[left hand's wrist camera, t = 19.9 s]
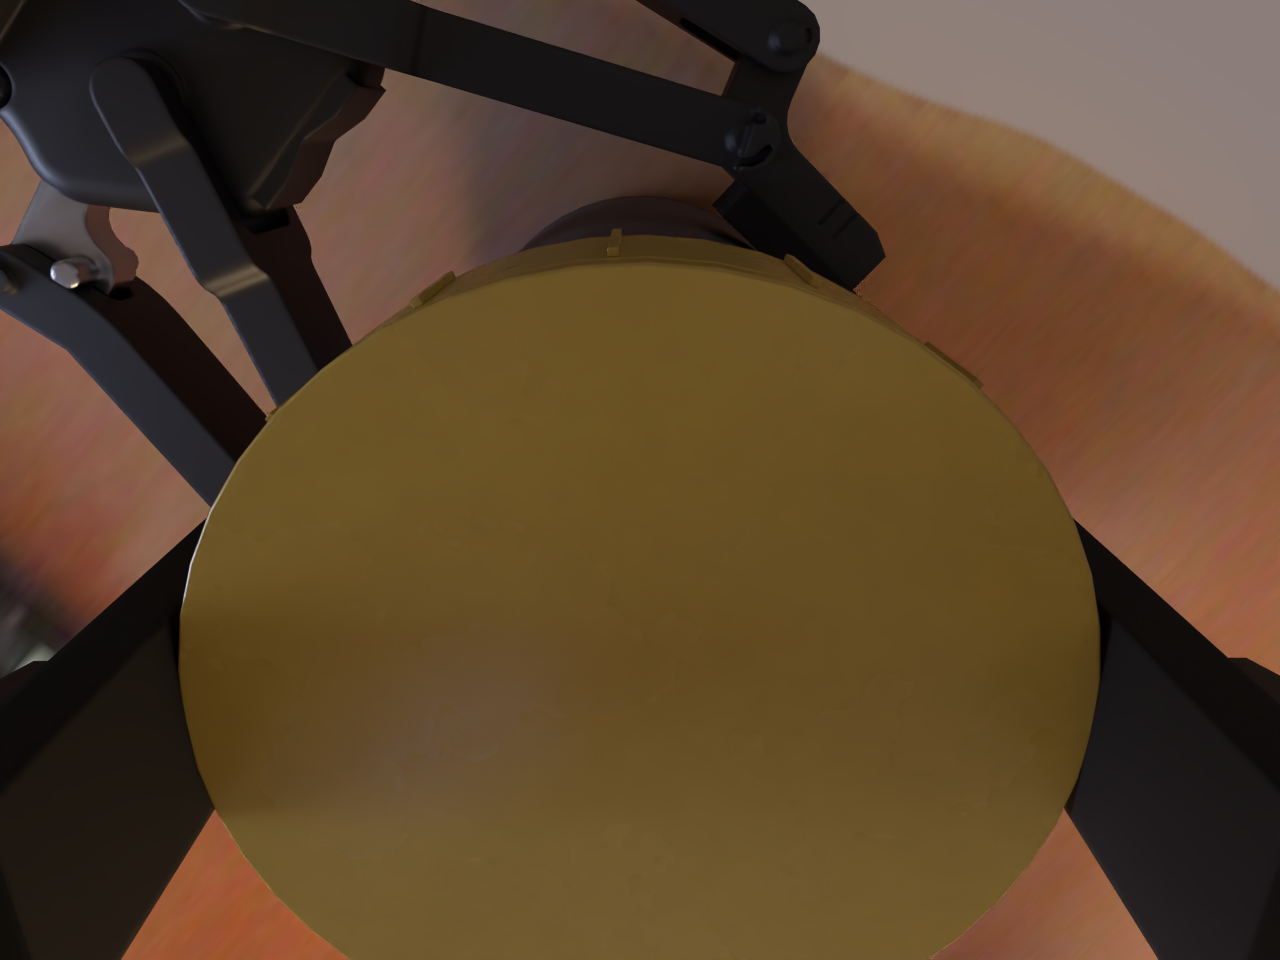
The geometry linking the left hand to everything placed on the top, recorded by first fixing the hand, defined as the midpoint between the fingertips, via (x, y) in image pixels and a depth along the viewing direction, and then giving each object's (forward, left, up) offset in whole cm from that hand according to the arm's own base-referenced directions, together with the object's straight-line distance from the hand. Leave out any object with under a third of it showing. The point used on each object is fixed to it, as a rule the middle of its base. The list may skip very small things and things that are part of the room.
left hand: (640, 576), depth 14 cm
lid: (0, 0, +3) cm, 3 cm away
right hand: (+2, -4, -8) cm, 9 cm away
